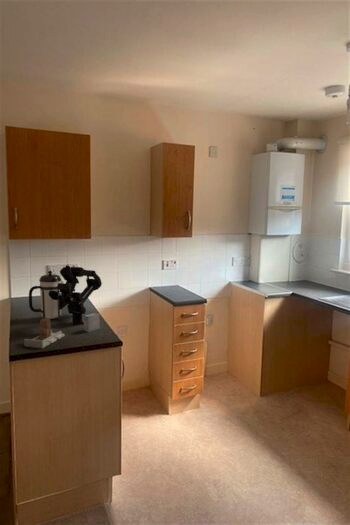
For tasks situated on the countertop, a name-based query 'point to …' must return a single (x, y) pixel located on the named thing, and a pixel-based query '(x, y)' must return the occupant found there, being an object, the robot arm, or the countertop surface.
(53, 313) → the coffee press
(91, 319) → the medicine box
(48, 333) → the slider
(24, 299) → the countertop surface
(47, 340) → the track
